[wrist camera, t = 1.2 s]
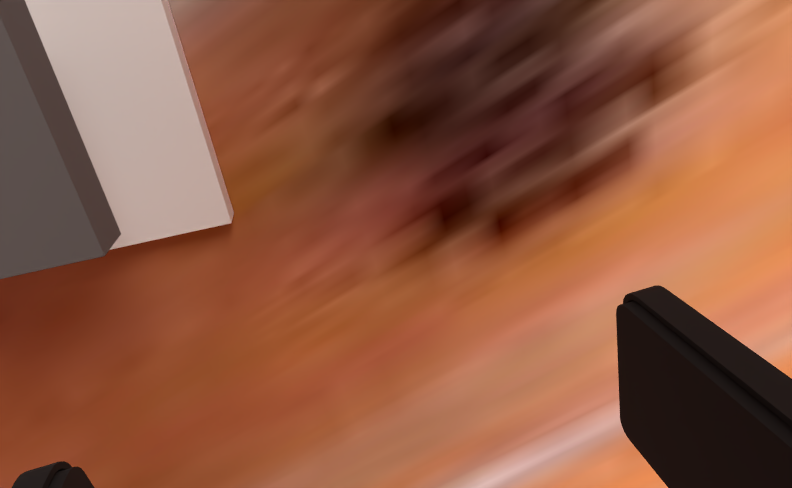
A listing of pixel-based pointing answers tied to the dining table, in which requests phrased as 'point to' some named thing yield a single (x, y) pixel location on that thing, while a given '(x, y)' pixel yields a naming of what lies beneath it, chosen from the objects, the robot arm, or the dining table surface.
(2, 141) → the square hole plate
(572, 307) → the dining table surface
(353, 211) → the dining table surface
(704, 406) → the robot arm
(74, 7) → the stand plate
